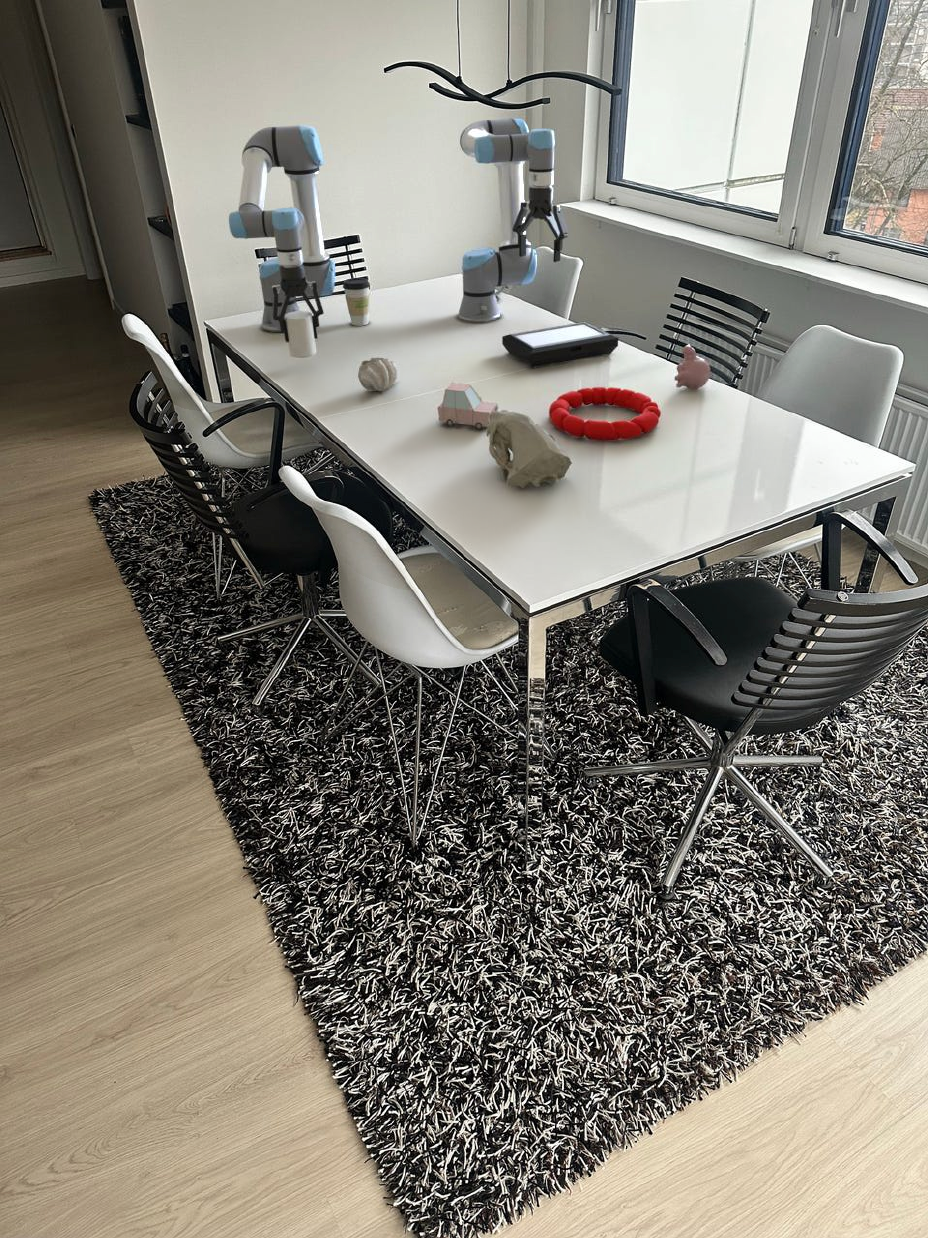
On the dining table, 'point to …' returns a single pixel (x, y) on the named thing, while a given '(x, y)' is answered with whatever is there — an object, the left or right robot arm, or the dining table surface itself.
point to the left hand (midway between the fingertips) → (301, 339)
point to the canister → (300, 334)
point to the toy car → (465, 406)
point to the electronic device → (559, 344)
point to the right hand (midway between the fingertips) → (539, 258)
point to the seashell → (377, 374)
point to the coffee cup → (357, 300)
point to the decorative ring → (604, 428)
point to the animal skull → (525, 450)
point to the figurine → (692, 370)
